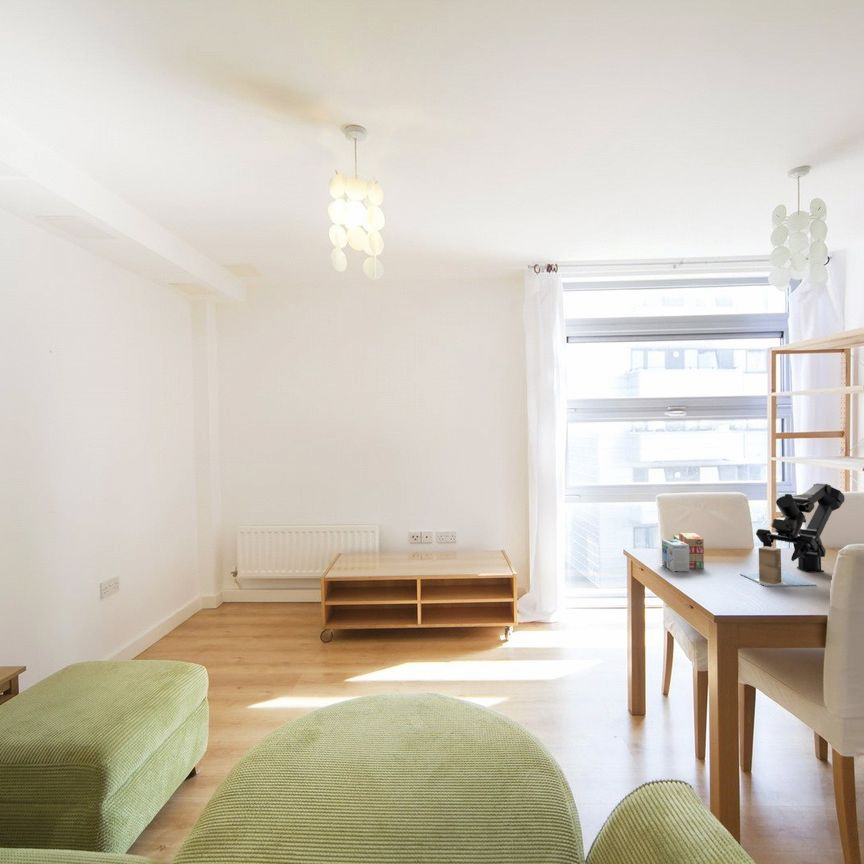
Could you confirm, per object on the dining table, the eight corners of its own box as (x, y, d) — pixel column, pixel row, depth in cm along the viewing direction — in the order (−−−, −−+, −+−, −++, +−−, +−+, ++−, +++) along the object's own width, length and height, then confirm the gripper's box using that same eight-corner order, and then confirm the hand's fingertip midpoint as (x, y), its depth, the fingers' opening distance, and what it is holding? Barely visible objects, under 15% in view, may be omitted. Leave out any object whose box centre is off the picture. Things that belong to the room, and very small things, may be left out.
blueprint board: (787, 574, 194) (787, 572, 194) (816, 585, 179) (816, 584, 179) (740, 574, 194) (740, 573, 194) (764, 586, 179) (764, 584, 179)
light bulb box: (661, 565, 210) (661, 539, 210) (678, 565, 210) (677, 539, 210) (673, 572, 200) (672, 544, 200) (690, 572, 199) (689, 544, 199)
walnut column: (766, 578, 187) (765, 546, 187) (781, 582, 182) (780, 548, 182) (759, 581, 184) (758, 548, 184) (774, 584, 180) (773, 550, 180)
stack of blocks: (673, 555, 226) (673, 528, 226) (689, 556, 225) (688, 528, 225) (687, 568, 205) (686, 538, 205) (704, 569, 204) (703, 538, 204)
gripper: (757, 508, 197) (742, 540, 191) (813, 514, 181) (798, 549, 175) (768, 525, 201) (754, 557, 195) (823, 533, 185) (810, 568, 179)
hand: (778, 557), depth 186 cm, fingers open, 9 cm apart
